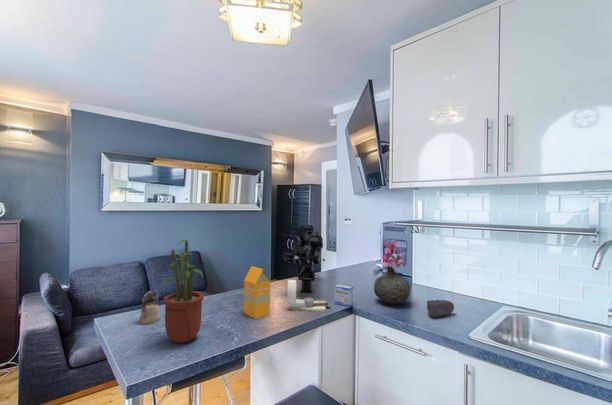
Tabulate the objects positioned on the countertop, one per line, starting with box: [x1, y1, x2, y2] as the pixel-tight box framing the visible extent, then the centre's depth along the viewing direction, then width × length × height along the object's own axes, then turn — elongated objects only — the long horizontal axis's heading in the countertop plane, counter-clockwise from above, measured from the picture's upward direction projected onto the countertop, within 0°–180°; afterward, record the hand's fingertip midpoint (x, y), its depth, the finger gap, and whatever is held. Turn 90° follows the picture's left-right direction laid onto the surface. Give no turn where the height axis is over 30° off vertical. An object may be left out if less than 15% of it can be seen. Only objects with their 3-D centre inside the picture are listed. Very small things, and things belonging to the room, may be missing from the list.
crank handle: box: [286, 279, 329, 307], centre depth 134 cm, size 19×4×12 cm, turn 100°
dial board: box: [290, 298, 333, 313], centre depth 136 cm, size 12×19×1 cm, turn 84°
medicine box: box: [334, 284, 354, 308], centre depth 140 cm, size 8×4×9 cm, turn 62°
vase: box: [373, 240, 411, 306], centre depth 143 cm, size 17×17×30 cm
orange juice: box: [243, 265, 271, 319], centre depth 126 cm, size 8×9×20 cm
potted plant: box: [155, 239, 205, 344], centre depth 103 cm, size 17×16×35 cm
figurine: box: [139, 290, 161, 325], centre depth 117 cm, size 7×7×12 cm
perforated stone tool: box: [426, 299, 455, 318], centre depth 128 cm, size 15×5×7 cm, turn 109°
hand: (299, 274), depth 146 cm, fingers closed
